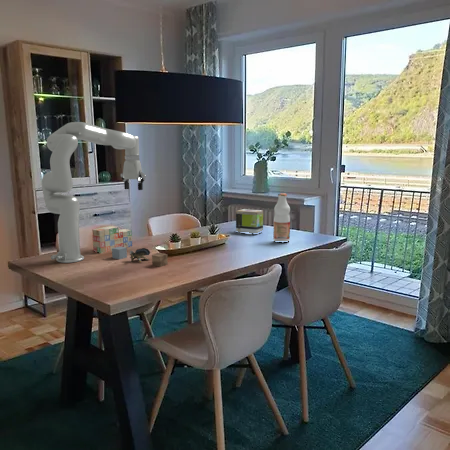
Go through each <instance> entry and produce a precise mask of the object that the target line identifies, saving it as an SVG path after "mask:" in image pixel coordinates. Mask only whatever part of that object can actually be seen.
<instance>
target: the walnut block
mask: <svg viewBox="0 0 450 450" xmlns="http://www.w3.org/2000/svg"><path fill="white" fill-rule="evenodd" d="M151 262H152V263H151V265H152V266H153V267H160V268H162V267H165V266H167V265H168V264H169V263H168V262H169V261H168V253H167V254H166V253H163V252H157V253H154V254H152V255H151Z"/></svg>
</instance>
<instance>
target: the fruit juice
mask: <svg viewBox="0 0 450 450" xmlns="http://www.w3.org/2000/svg"><path fill="white" fill-rule="evenodd" d="M277 196H278V199H277V202H276V204H275V206H274V208H273V212H274V216H273V239H272V240H274V241H289V240H290V241H291V238H290V237H291V215H290V213H291V207H290V205H289V203H288V201H287V200H288V199H287V196H288V194H287V193H277ZM274 241H273V242H274ZM290 241H289V242H290Z"/></svg>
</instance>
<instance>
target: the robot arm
mask: <svg viewBox="0 0 450 450" xmlns="http://www.w3.org/2000/svg"><path fill="white" fill-rule="evenodd" d="M79 140H80V141H85V142H89V143H92V144H96V145H101V146H102V145H103V146H111V147H112V148H113V149H116V150H125V151H124V152H125V153H124V155H125V156H124V159H125V160H124V162H123V170H122V173H120V177H121V180H122V182H123V183H124V185H123V186H124V190H130V182H129V181H130V180H137V182H138V183H137V190H138V191H142V190H143V189H144V186H143V183H144V181H145V180H146V177H147V174H145V173H144V172H143V171H142V170H143V169H142V164H141V161H140V139H139V136H137V135H132V134H130V133H127V132H124V131H120V130H115V129H109V128H104V127H100V126H98V125H95V124H91V123H88V122H84V121H83V122H82V121H73V122H72V121H71V122H68V123H65V124H64V125H63V126H61V127H60V128H58V129H56V131H54V132H53V133H51V134H50V135H49V136H48V137H47V139H46V146H47V148H48V150H50V151H51V155H50V158H49V164H50V171H48V172H46V173H44V175H42V179H41V190H42V195H43V199H44V204H45V207H46V209H47V211H48V212H49V213H51V214H54V215H55V214H56V215H59V216H58V220H57V234H58V236H57V237H58V248H59V251H57V253H56V254H53V255H51V256H50V259H51V260H56V262H58V263H63V264H69V263H70V264H71V263H76V262H81V261H83V260H84V259H85V256H84V255H82V254H81V240H80V223H79V222H80V221H79V220H80V219H79V218H80V217H79V215H80V207H81V206H80V205H81V204H80V202H79V198H77V197H76V196H73V195H71V194H65V193H69V192H70V191H71V190H72V189H73V187H74V185H73V184H74V182H73V178H72V177H73V176H72V172H71V166H70V165H71V164H70V160H71V157H72V155H73V153H74V152H75V151H76V150H77V148H78V146H79V143H78V142H79ZM62 193H64V194H62Z"/></svg>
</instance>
